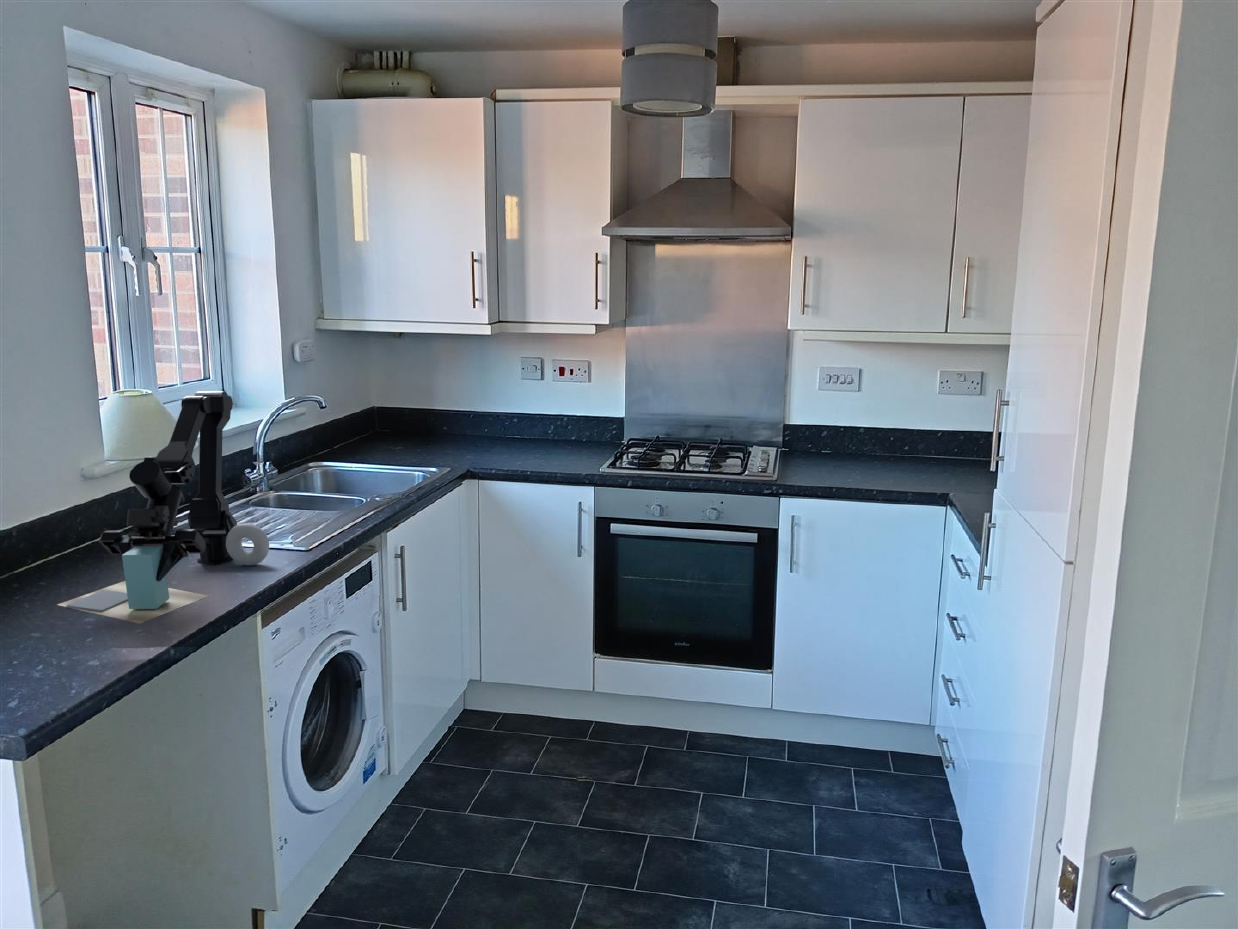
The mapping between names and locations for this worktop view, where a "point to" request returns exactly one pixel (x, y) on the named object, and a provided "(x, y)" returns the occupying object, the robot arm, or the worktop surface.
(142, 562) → the tall teal block
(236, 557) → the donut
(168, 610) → the board
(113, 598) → the coaster
